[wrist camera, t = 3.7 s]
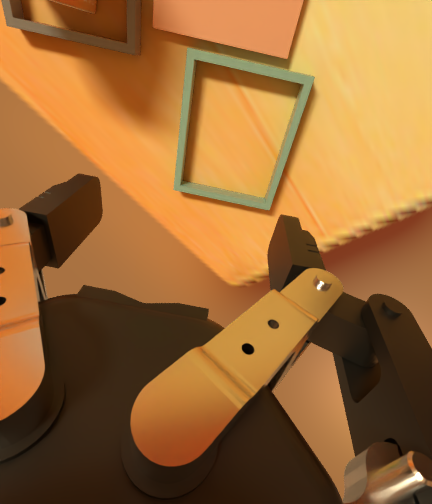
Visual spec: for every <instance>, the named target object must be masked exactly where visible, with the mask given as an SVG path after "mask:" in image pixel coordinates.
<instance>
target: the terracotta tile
mask: <svg viewBox="0 0 432 504" xmlns="http://www.w3.org/2000/svg"><path fill="white" fill-rule="evenodd" d="M303 1H304V0H154V3H153V28H155V29H160V30H164V31H168V32H173V33H177V34H181V35H186V36H190V37H194V38H198V39H203V40H207V41H211V42H216V43H220V44H224V45H229V46H233V47H237V48H241V49H246V50H250V51H254V52H259V53H263V54H267V55H272V56H276V57H280V58H285V59H287V58H288V54H289V51H290V47H291V44H292V40H293V37H294V33H295V29H296V26H297V22H298V19H299V15H300V11H301V8H302V4H303Z"/></svg>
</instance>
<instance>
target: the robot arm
mask: <svg viewBox="0 0 432 504" xmlns="http://www.w3.org/2000/svg"><path fill="white" fill-rule="evenodd" d="M102 211H103V210H102V198H101V187H100V181H99V179H98V177H94V176H89V175H84V174H77V175H76V176H74V177H73V178H71V179H70V180H68V181H67V182H64V183H61V184H58V185H54V186H52V187H51V188H50V189H48V190H46V191H45V193H44V192H43V193H42V194H40V195H39V197H36V198H34V199H33V200H32V201H30V202H29V203H27V204H25V205H24V206H23V207H21V208H20V209H12V208H2V209H0V504H432V348H431V347H430V345H429V343H428V341H427V339H426V338H425V336H424V334H423V332H422V331H421V329H420V327H419V325H418V324H417V322H416V320H415V318H414V316H413V315H412V313H411V312H410V310H409V309H407V307H406V306H405V305H403V304H402V303H400V302H399V301H397V300H396V299H394V298H392V297H390V296H386V295H382V294H373V295H371V296H370V297H369V299H368V300H367V301H366V302H365V301H363V300H361V299H358V298H356V297H353V296H351V295H349V294H346V293H344V292H343V285H342V283H341V282H340V281H339V279H338V278H337V277H335V276H334V275H333V274H331V273H329V272H327V271H326V269H325V267H324V264H323V261H322V258H321V255H320V253H319V250H318V247H317V244H316V241H315V239H314V237H313V236H312V235H311V234H310V233H309V232H308V231H305V230H302V228H301V225H300V222H299V219H298V218H297V217H292V216H287V215H282V214H281V215H280V217H279V219H278V221H277V224H276V227H275V230H274V233H273V236H272V238H271V241H270V244H269V248H268V267H269V278H270V288H271V291H270V292H269V293H268V294H266V295H265V296H264V297H263V298H262V299H260V300H259V301H258V302H257V303H255V304H254V305H253V306H252V307H250V308H249V309H248V310H247V311H246V312H244V313H243V314H242V315H241V316H239V317H238V318H237V319H236V320H235V321H233V322H232V323H231V324H230V325H228V326H227V327H226V328H223V327H222V326H221V325H219V324H217V323H216V322H214V321H212V320H210V319H208V318H207V317H208V309H206V308H201V307H195V306H190V305H185V304H180V303H152V304H151V303H147V304H146V303H142V302H139V301H137V300H134V299H132V298H130V297H127V296H125V295H123V294H121V293H118V292H116V291H112V290H107V289H101V288H96V287H91V286H86V285H83V287H82V288H81V290H80V291H79V292H78V294H70V295H62V296H57V297H53V298H49V299H48V297H47V292H46V287H45V281H44V276H43V272H42V268H43V267H44V266H49V267H55V268H59V267H61V265H62V264H63V263H64V262H65V261H66V260H67V259H68V257H69V256H70V255H71V254H72V253H73V252H74V251H75V249H77V247H78V246H79V245H80V244H81V243H82V242H83V240H85V238H86V237H87V236H88V235H89V234H90V233H91V232H92V231H93V229H94V228H95V227H96V226H97V225H98V224H99V222H100V220H101V218H102ZM311 342H312V343H314V344H316V345H318V346H320V347H322V348H324V349H326V350H328V351H330V352H332V353H333V356H334V361H335V366H336V370H337V375H338V379H339V384H340V389H341V393H342V397H343V402H344V407H345V412H346V416H347V420H348V425H349V430H350V434H351V439H352V444H353V449H354V453H355V458H353V459H352V460H351V461H349V463H348V464H347V466H346V469H345V473H344V484H345V493H344V498H343V502H342V499H341V497H340V494H339V492H338V490H337V488H336V486H335V484H334V483H333V481H332V479H331V477H330V476H329V474H328V473H327V471H326V470H325V468H324V467H323V465H322V464H321V462H320V461H319V459H318V458H317V457H316V455H315V454H314V452H313V451H312V449H311V448H310V446H309V445H308V443H307V442H306V441H305V439H304V438H303V436H302V435H301V433H300V432H299V430H298V429H297V427H296V426H295V424H294V423H293V422H292V420H291V419H290V417H289V416H288V414H287V413H286V411H285V410H284V409H283V407H282V406H281V404H280V403H279V401H278V400H277V398H276V397H275V395H274V394H273V392H274V391H275V390H276V388H277V387H278V385H279V384H280V382H281V381H282V380H283V378H284V377H285V375H286V374H287V373H288V371H289V370H290V369H291V368H292V366H293V365H294V364H295V362H296V361H297V360H298V358H299V357H300V356H301V355H302V353H303V352H304V351H305V350H306V348H307V347H308V346H309V344H310V343H311Z"/></svg>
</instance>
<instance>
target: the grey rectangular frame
mask: <svg viewBox="0 0 432 504" xmlns="http://www.w3.org/2000/svg"><path fill="white" fill-rule="evenodd" d="M1 1H2V5H3V10H4V15H5V19H6V24H7V26H9V27H14V28H18V29H23V30H27V31H31V32H36V33H40V34H44V35H49V36H53V37H58V38H62V39H66V40H71V41H75V42H79V43H84V44H88V45H92V46H97V47H101V48H106V49H110V50H114V51H119V52H123V53H127V54H132V55H140V45H141V0H127V43H126V42H121V41H117V40H112V39H108V38H104V37H99V36H95V35H91V34H86V33H82V32H78V31H73V30H69V29H65V28H60V27H56V26H52V25H47V24H43V23H39V22H34V21H30V20H26V19H24V14H23V9H22V3H21V0H1Z"/></svg>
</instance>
